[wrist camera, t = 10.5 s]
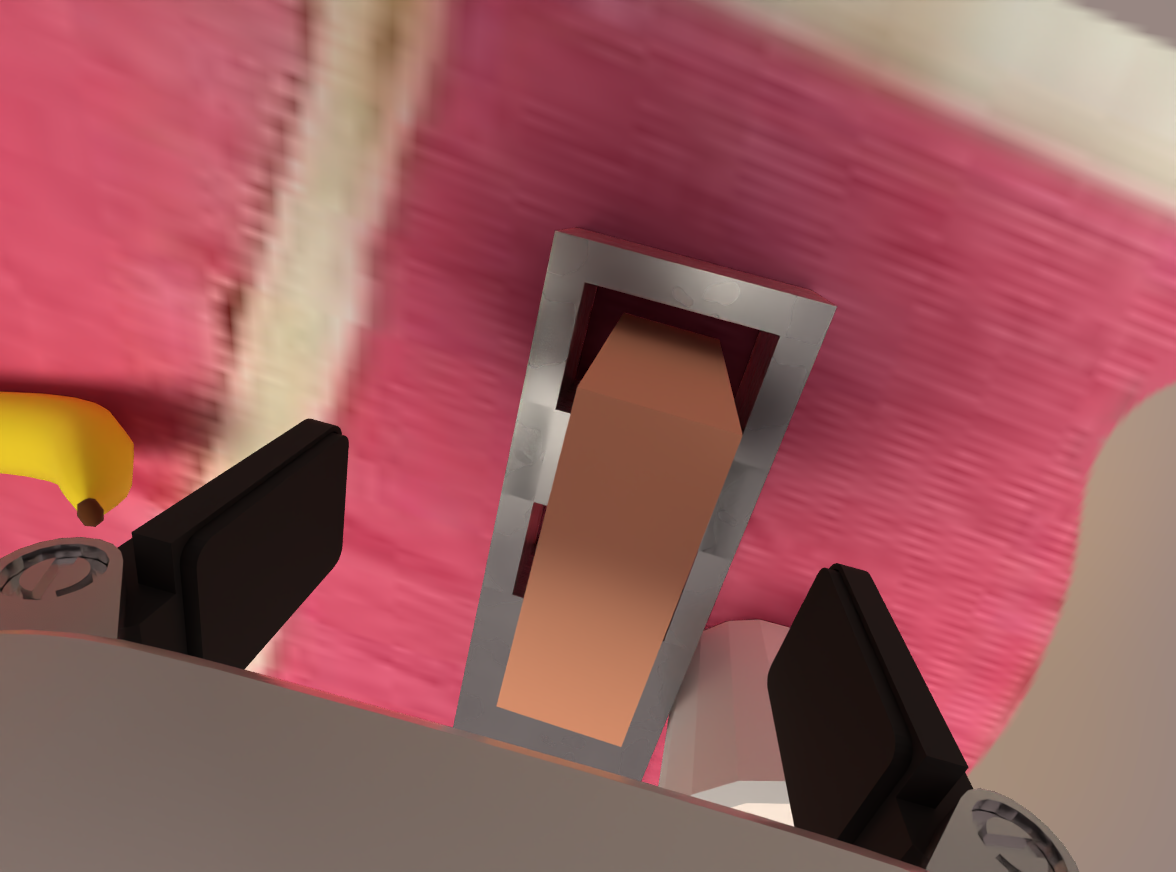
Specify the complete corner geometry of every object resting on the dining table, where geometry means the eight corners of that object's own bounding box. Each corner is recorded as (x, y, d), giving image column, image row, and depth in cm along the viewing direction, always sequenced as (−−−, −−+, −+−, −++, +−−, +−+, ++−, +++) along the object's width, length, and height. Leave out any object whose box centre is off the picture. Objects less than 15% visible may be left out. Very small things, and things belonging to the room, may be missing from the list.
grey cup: (655, 734, 23) (643, 931, 17) (664, 595, 21) (654, 765, 15) (831, 758, 22) (889, 978, 16) (863, 615, 20) (946, 808, 14)
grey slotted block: (577, 227, 17) (555, 230, 14) (811, 290, 16) (837, 306, 14) (464, 740, 25) (437, 805, 23) (616, 790, 25) (607, 862, 22)
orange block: (623, 312, 17) (577, 387, 10) (719, 339, 17) (742, 435, 10) (564, 529, 21) (496, 706, 13) (645, 553, 20) (621, 747, 13)
